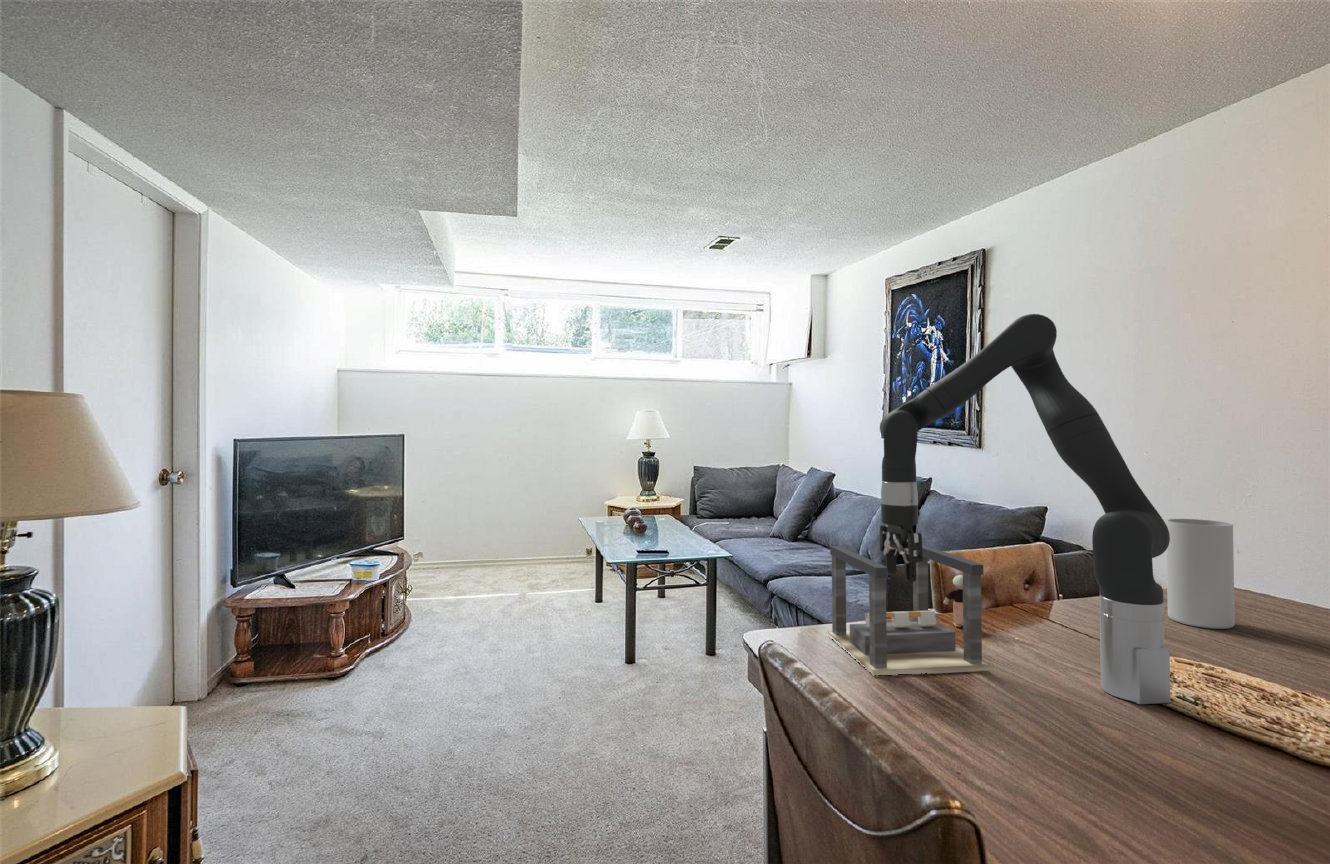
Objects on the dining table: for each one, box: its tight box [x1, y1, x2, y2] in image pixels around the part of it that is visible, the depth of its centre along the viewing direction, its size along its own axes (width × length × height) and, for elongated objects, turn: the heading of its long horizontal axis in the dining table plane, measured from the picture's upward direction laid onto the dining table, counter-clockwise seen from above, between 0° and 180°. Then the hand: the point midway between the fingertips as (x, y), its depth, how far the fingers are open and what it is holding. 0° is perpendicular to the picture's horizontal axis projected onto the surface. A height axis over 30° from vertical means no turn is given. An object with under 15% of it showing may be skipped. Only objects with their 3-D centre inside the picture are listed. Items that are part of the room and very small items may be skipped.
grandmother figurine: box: [943, 574, 963, 626], centre depth 148 cm, size 8×4×13 cm, turn 84°
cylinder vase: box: [1165, 518, 1236, 630], centre depth 150 cm, size 12×12×25 cm
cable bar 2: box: [916, 543, 984, 576], centre depth 132 cm, size 24×2×2 cm, turn 6°
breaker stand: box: [827, 554, 989, 676], centre depth 131 cm, size 24×24×19 cm
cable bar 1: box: [829, 545, 889, 579], centre depth 130 cm, size 24×2×2 cm, turn 6°
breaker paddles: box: [864, 609, 937, 627], centre depth 131 cm, size 2×15×3 cm, turn 96°
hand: (900, 576), depth 131 cm, fingers open, 8 cm apart
